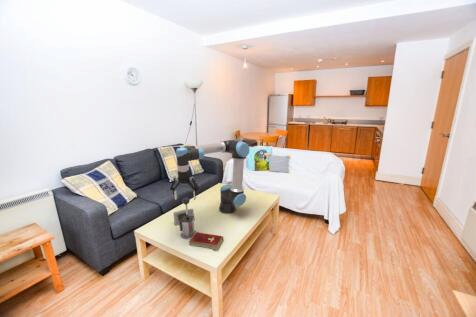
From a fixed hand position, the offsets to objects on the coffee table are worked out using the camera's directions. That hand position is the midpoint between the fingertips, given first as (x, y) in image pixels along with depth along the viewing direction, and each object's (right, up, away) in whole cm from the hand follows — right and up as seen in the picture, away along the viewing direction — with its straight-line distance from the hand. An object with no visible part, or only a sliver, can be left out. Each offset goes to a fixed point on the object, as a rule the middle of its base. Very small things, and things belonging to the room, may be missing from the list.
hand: (185, 199), depth 155 cm
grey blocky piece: (+1, -27, +7) cm, 28 cm away
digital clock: (-7, -24, +24) cm, 35 cm away
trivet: (+1, -28, +8) cm, 29 cm away
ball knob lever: (+1, -18, +5) cm, 18 cm away
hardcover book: (+15, -31, -2) cm, 35 cm away
